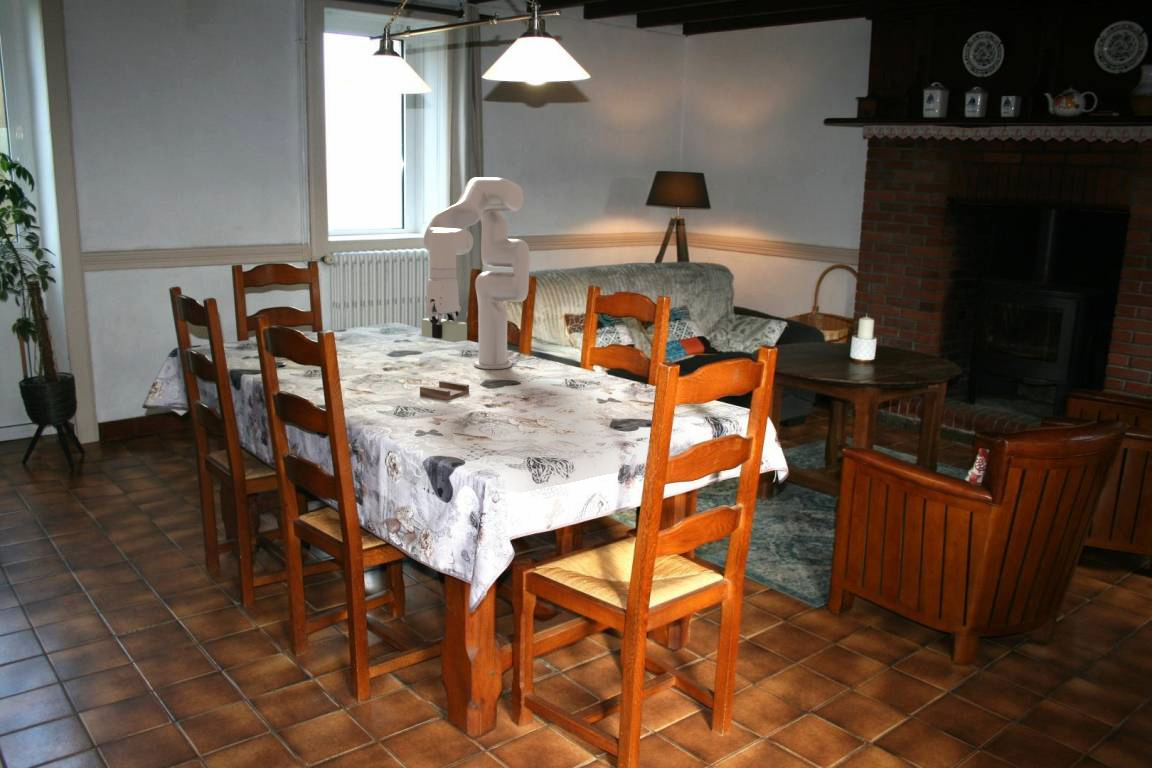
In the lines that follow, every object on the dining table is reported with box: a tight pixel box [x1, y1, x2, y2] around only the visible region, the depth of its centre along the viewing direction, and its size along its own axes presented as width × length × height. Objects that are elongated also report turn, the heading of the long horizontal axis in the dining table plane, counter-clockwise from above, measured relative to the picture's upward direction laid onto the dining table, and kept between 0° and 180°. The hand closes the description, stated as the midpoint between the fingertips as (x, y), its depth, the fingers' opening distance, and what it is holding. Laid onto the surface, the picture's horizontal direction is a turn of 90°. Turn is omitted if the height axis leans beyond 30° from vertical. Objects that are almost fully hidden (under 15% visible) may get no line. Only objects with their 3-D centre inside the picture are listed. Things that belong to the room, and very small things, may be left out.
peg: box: [420, 317, 468, 343], centre depth 286 cm, size 5×14×5 cm, turn 49°
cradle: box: [419, 380, 470, 401], centre depth 290 cm, size 10×10×2 cm
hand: (444, 335), depth 287 cm, fingers closed on peg, 5 cm apart
